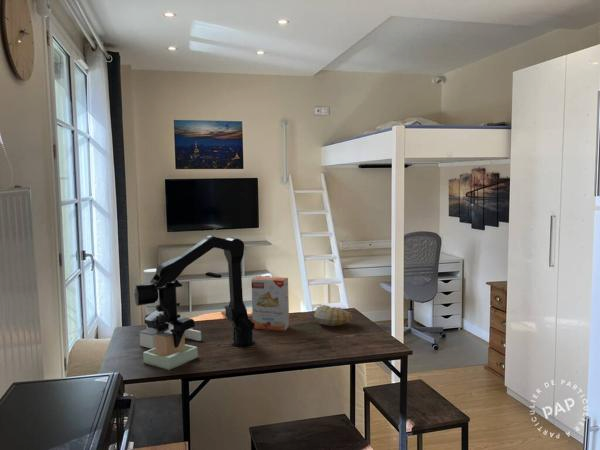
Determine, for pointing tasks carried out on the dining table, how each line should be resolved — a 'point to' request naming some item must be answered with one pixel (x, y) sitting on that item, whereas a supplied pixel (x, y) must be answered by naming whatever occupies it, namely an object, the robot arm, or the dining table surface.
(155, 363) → the tray
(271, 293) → the cracker box
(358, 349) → the dining table surface
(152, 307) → the cylindrical container
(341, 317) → the nautilus
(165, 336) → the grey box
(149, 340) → the grey forked piece
